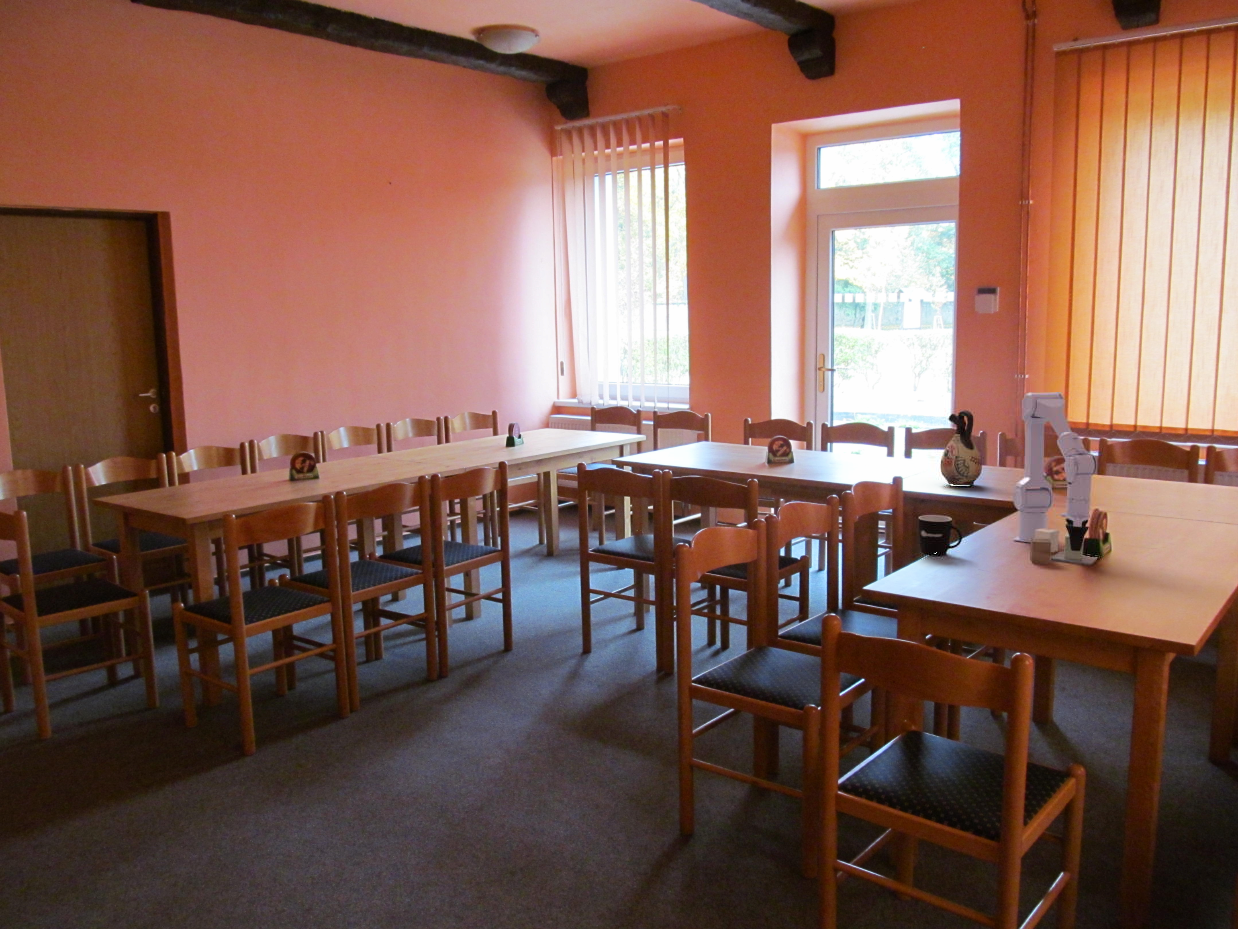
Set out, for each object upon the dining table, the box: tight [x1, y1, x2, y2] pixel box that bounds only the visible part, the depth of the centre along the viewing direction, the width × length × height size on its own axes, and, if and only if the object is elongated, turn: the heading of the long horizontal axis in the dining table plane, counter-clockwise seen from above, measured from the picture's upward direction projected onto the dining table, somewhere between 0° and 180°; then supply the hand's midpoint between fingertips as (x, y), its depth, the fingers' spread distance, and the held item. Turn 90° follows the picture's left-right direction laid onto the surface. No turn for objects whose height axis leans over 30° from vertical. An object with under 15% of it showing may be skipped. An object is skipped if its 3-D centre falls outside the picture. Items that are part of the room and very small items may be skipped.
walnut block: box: [1029, 538, 1051, 565], centre depth 265 cm, size 4×4×6 cm
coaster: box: [1050, 550, 1098, 566], centre depth 268 cm, size 10×10×1 cm
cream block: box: [1035, 527, 1060, 554], centre depth 278 cm, size 4×4×6 cm
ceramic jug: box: [939, 409, 983, 486], centre depth 382 cm, size 17×15×30 cm
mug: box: [917, 514, 963, 557], centre depth 275 cm, size 12×9×10 cm
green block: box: [1063, 532, 1085, 560], centre depth 268 cm, size 4×4×6 cm
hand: (1075, 547), depth 267 cm, fingers open, 7 cm apart
